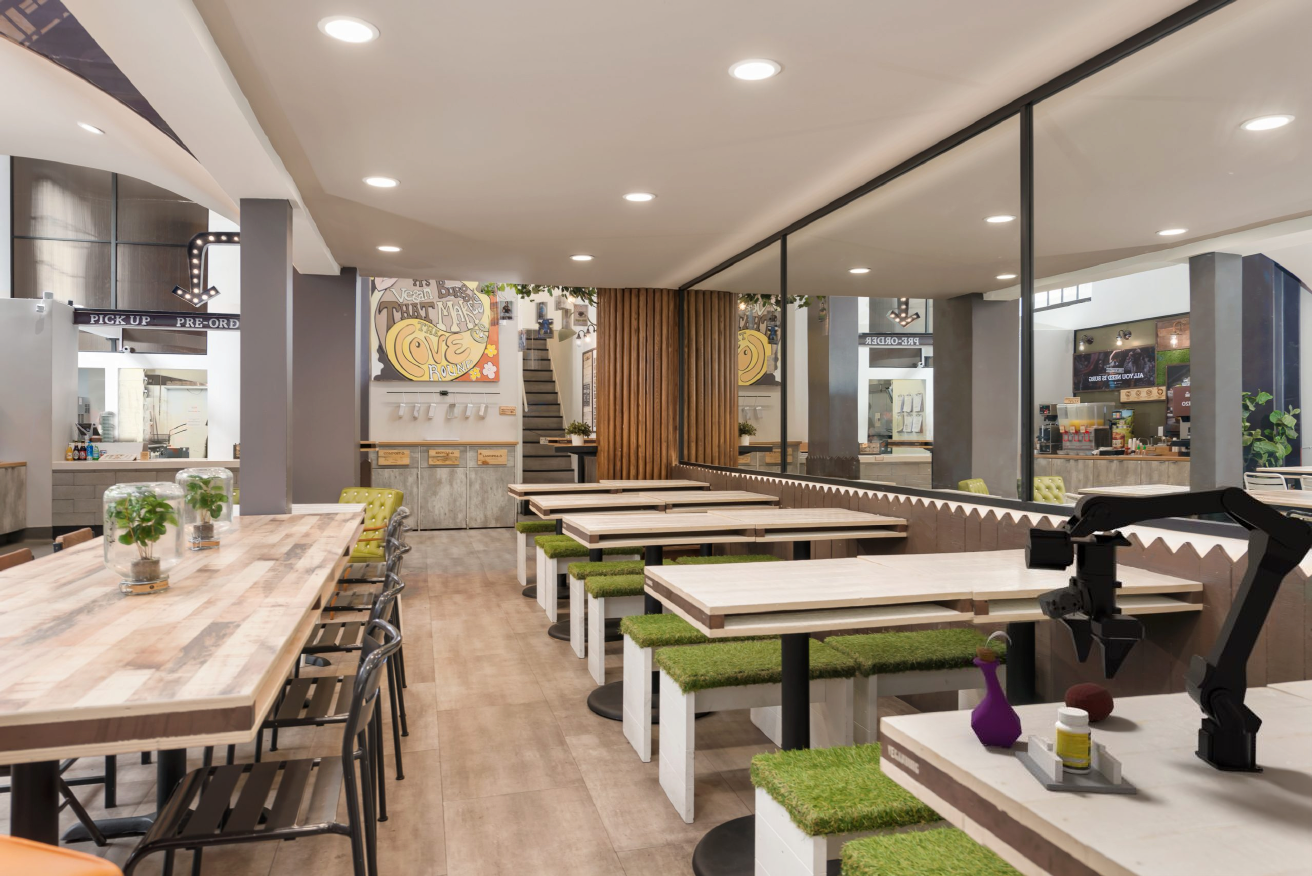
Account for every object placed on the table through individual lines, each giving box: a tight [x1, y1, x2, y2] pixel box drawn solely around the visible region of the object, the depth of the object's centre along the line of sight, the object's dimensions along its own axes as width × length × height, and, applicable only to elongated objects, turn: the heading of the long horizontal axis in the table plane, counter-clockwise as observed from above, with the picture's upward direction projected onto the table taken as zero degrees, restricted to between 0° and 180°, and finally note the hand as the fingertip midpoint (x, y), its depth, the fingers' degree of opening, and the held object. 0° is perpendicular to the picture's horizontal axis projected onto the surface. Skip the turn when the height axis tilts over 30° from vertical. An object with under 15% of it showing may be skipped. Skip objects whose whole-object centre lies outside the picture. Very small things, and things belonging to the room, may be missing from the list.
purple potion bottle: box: [970, 630, 1023, 749], centre depth 131 cm, size 8×8×18 cm
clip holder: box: [1015, 734, 1137, 795], centre depth 119 cm, size 12×12×5 cm
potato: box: [1064, 682, 1115, 722], centre depth 144 cm, size 7×10×6 cm
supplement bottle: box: [1054, 706, 1092, 774], centre depth 119 cm, size 5×5×8 cm
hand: (1094, 670), depth 129 cm, fingers open, 9 cm apart
